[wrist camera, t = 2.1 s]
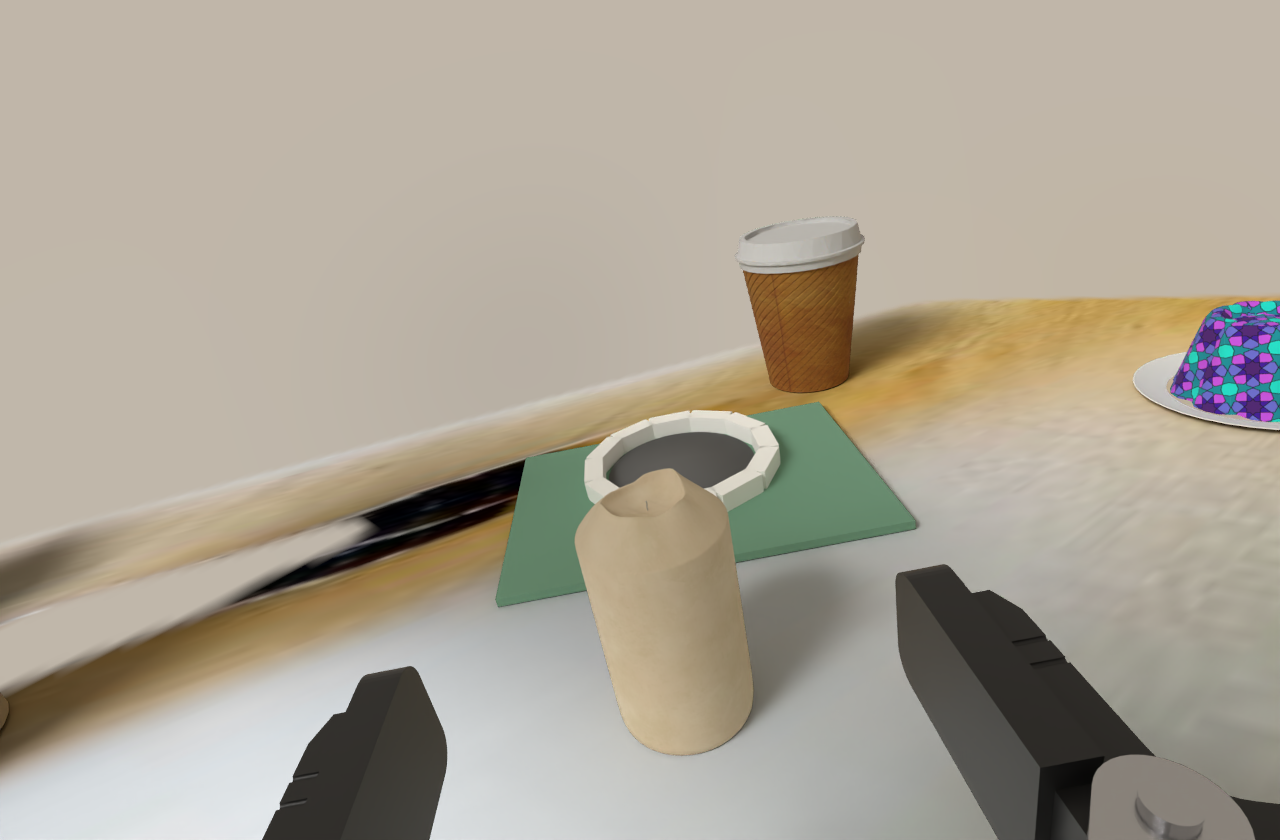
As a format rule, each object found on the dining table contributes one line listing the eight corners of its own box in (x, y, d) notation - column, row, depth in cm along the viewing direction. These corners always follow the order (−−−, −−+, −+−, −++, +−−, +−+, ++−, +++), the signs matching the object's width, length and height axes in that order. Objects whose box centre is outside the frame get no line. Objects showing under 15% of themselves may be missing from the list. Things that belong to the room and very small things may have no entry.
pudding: (1305, 351, 43) (1324, 273, 41) (1472, 434, 33) (1510, 335, 31) (1099, 369, 46) (1107, 297, 44) (1192, 450, 36) (1208, 361, 34)
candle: (681, 630, 30) (642, 439, 26) (782, 684, 26) (755, 470, 22) (593, 710, 27) (533, 506, 23) (694, 786, 23) (644, 557, 19)
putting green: (497, 606, 34) (488, 581, 33) (528, 462, 49) (522, 442, 48) (915, 528, 34) (915, 501, 33) (818, 406, 48) (816, 385, 48)
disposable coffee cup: (818, 348, 59) (808, 212, 54) (896, 374, 51) (893, 218, 46) (728, 380, 56) (709, 240, 51) (797, 413, 48) (782, 250, 43)
